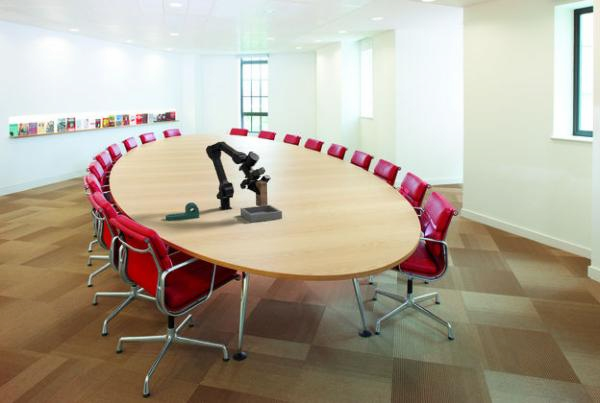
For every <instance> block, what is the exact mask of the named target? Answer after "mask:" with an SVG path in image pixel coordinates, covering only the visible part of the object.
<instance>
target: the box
mask: <svg viewBox="0 0 600 403" xmlns="http://www.w3.org/2000/svg"><path fill="white" fill-rule="evenodd" d="M239 210H240V216H241V217H243V218H244V219H246V220H247V221H249V222H250V223H252V224H253V223H259V222H267V221H274V220H280V219H283V211H282V210H280V209H279V208H277V207H275V206H272V205H271V204H268V205H266V206H262V207H261V206H257V205H255V206H250V207H249V206H247V207H240V208H239Z"/></svg>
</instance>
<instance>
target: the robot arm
mask: <svg viewBox="0 0 600 403" xmlns="http://www.w3.org/2000/svg"><path fill="white" fill-rule="evenodd" d="M205 152H206V155H207V157H208V158H209V159H210V160H211V161H212V163H213V167H214V171H215V174H216V177H217V179H218V183H219V186H218V192H217V194H216V195H215V196H216V199H217V200H220V201H219V202H220V206H219V207H218V208H219V209H220V210H230V209H232V210H233V207H232V206H231V198H232V199H233V198H234V193H235V190H234V189H235V188H234V185H233V183H232V182H230V181H229V180H228V178H227V175H226V171H225V169H224V166H223V162H222V158H221V156H222V152H223V153H224V154H226V155H227V156H228V157H231V161H232V162H233V163H234V165H235V164H236V165H239V167H238V171H239V172H242V173H243V174H244V179H243V180H242V181H241V182H240V185H239V187H240V189H241V190H245V189H246V190H249V191H251V192H252V193H254V194H255V195H256V194H258V195H260V192H259V190H258V188H257V187H256V183H255V182H260V181H263V182H267V184H268V183H269V181H270V180H271V179H272V178H271V177H270V175H268V174H267V175H265V173H266V169H265V167H264V166H263V167H259V168H256V169H254V168H253V167H255V166H256V164H257V163H258V161H259V160H260V155H258V154H257V153H255V152H254V151H249V152H248V154H247V153H245V152H243V151H238V150H236V149H235V148H233V147H232V146H230V145H229V144H227V143H226V142H225V141H218V142H216V143H214V144H211V145H207V146H206V149H205Z"/></svg>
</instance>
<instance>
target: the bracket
mask: <svg viewBox="0 0 600 403" xmlns="http://www.w3.org/2000/svg"><path fill="white" fill-rule="evenodd" d="M184 210H185V212H179V213H170V214H169V213H168V214H166V215H165V216H164V218H165V220H166V221H167V222H168V221H169V222H170V221H181V220H191V219H199V218H200V208H199V207H198V205H197V204H196V203H195V202H188V203H187V204H186V205H185V207H184Z"/></svg>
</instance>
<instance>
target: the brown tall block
mask: <svg viewBox="0 0 600 403" xmlns="http://www.w3.org/2000/svg"><path fill="white" fill-rule="evenodd" d="M255 183H256V187H257V188H258V190H259V192H260V195H258V194H256V193H255V206H261V207H262V206H266V205H269V204H268V183H267V182H263V181H260V182H255Z"/></svg>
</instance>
